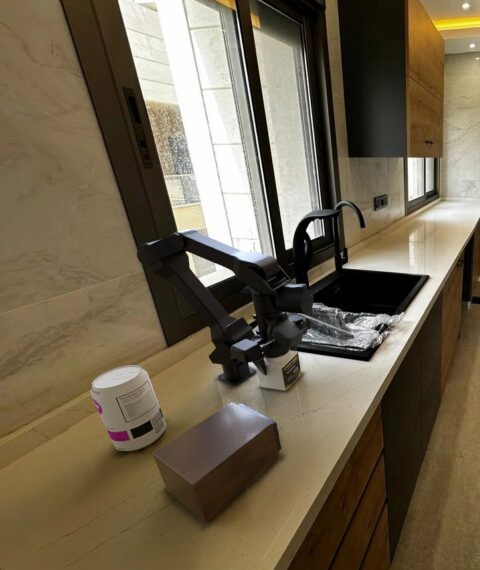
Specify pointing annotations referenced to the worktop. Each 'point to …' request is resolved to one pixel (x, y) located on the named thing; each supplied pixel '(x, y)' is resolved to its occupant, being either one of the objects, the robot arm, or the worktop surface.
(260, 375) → the medicine bottle
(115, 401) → the supplement can
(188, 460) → the cabinet
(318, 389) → the worktop surface
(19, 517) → the worktop surface
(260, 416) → the drawer
